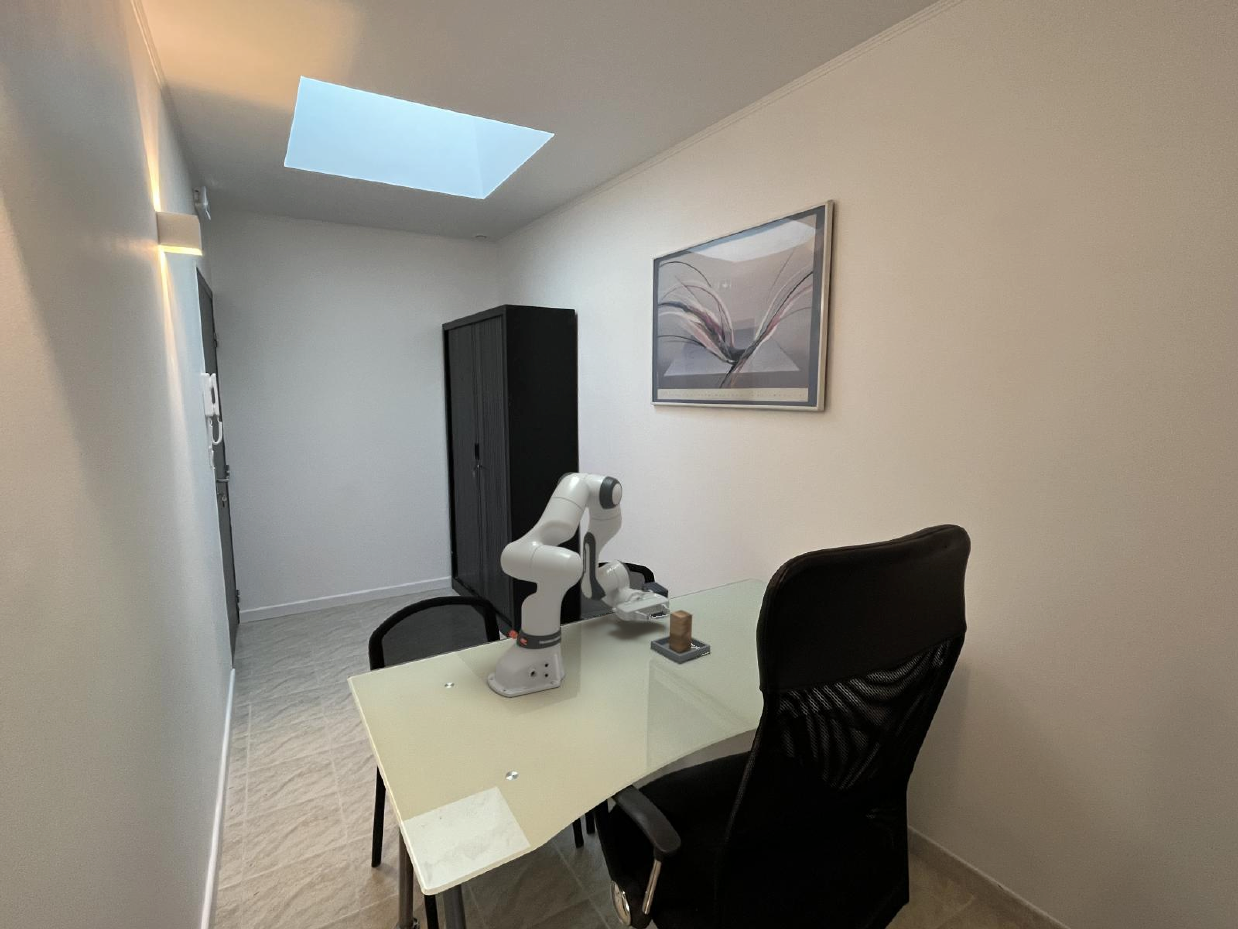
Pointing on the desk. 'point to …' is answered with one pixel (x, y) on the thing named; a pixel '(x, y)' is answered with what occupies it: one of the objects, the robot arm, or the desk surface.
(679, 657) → the tray
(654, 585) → the small box
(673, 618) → the walnut block
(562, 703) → the desk surface
